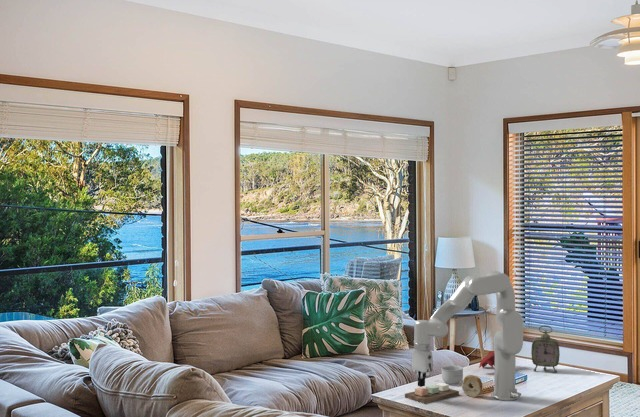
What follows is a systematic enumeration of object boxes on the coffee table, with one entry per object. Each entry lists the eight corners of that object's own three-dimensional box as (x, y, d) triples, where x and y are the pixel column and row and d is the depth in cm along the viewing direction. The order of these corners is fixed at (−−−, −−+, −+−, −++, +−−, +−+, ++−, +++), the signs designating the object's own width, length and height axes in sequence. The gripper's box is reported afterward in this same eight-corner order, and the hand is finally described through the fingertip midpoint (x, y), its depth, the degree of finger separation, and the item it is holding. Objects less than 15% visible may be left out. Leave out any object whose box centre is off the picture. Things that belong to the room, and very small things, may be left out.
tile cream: (448, 389, 335) (448, 384, 335) (442, 391, 332) (442, 386, 332) (442, 387, 338) (442, 382, 338) (435, 389, 336) (435, 384, 335)
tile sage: (438, 392, 330) (438, 387, 330) (432, 393, 328) (432, 388, 328) (431, 390, 334) (432, 384, 334) (425, 391, 331) (425, 386, 331)
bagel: (484, 397, 329) (484, 376, 329) (479, 399, 327) (480, 377, 327) (465, 393, 337) (465, 372, 337) (461, 394, 334) (461, 373, 334)
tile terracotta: (428, 394, 326) (428, 389, 326) (421, 396, 324) (421, 390, 324) (421, 392, 330) (421, 387, 330) (414, 394, 327) (414, 388, 327)
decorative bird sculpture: (475, 381, 375) (491, 364, 368) (464, 367, 380) (480, 350, 373) (504, 372, 394) (520, 356, 387) (494, 359, 399) (510, 342, 392)
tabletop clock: (531, 371, 379) (531, 326, 379) (531, 368, 388) (531, 323, 387) (559, 374, 375) (560, 327, 374) (558, 370, 384) (559, 324, 383)
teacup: (456, 387, 347) (457, 371, 347) (437, 383, 354) (437, 367, 354) (469, 381, 358) (469, 365, 358) (449, 378, 365) (450, 362, 365)
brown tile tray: (458, 394, 333) (458, 391, 333) (423, 403, 319) (423, 399, 319) (440, 389, 343) (440, 385, 343) (404, 397, 328) (404, 393, 328)
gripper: (439, 348, 323) (438, 388, 323) (416, 343, 334) (415, 381, 335) (428, 350, 318) (427, 391, 318) (405, 344, 330) (404, 383, 330)
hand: (421, 385), depth 327 cm, fingers closed
